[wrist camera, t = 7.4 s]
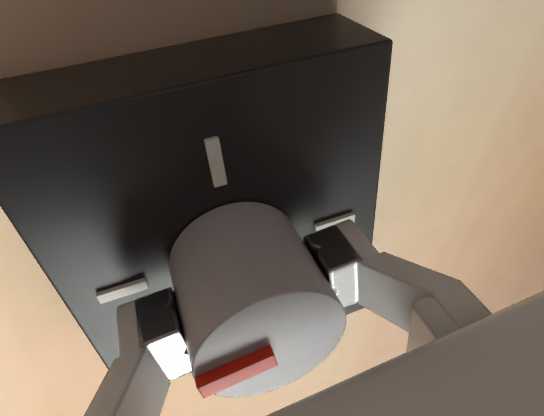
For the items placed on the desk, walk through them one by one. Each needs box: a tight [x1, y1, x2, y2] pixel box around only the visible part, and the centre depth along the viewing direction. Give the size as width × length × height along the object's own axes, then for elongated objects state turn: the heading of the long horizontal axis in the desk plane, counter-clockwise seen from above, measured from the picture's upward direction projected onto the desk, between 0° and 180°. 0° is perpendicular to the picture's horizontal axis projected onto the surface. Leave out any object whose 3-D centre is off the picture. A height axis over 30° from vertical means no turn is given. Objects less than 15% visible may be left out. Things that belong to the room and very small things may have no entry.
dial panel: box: [0, 14, 392, 376], centre depth 14 cm, size 11×10×3 cm
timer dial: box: [169, 202, 346, 398], centre depth 11 cm, size 4×4×4 cm
